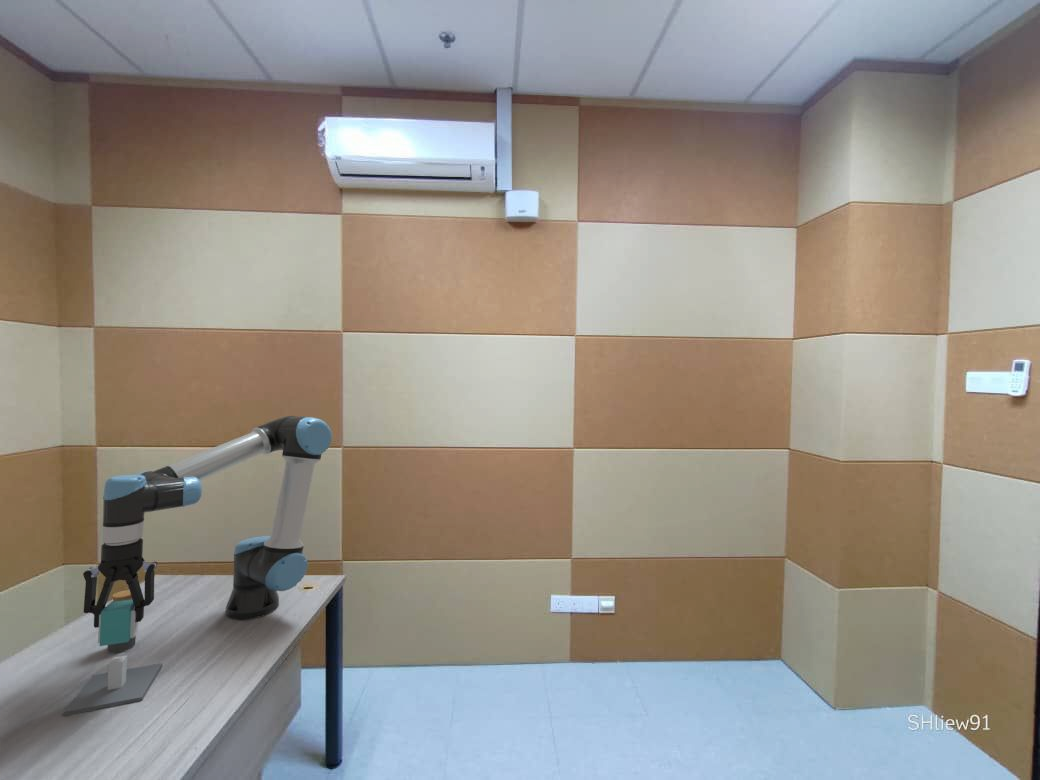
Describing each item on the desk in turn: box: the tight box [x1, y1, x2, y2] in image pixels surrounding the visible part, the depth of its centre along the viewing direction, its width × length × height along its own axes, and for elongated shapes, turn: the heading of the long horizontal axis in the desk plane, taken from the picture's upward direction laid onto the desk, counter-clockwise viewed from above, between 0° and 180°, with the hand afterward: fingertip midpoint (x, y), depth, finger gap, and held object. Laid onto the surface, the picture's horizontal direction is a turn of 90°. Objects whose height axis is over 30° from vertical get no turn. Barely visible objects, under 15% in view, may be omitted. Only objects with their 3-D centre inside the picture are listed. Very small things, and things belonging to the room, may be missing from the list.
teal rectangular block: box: [99, 600, 135, 647], centre depth 108 cm, size 5×5×8 cm
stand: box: [62, 655, 164, 717], centre depth 108 cm, size 14×14×7 cm
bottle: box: [107, 589, 137, 654], centre depth 125 cm, size 6×6×15 cm
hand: (118, 637), depth 108 cm, fingers closed on teal rectangular block, 5 cm apart
